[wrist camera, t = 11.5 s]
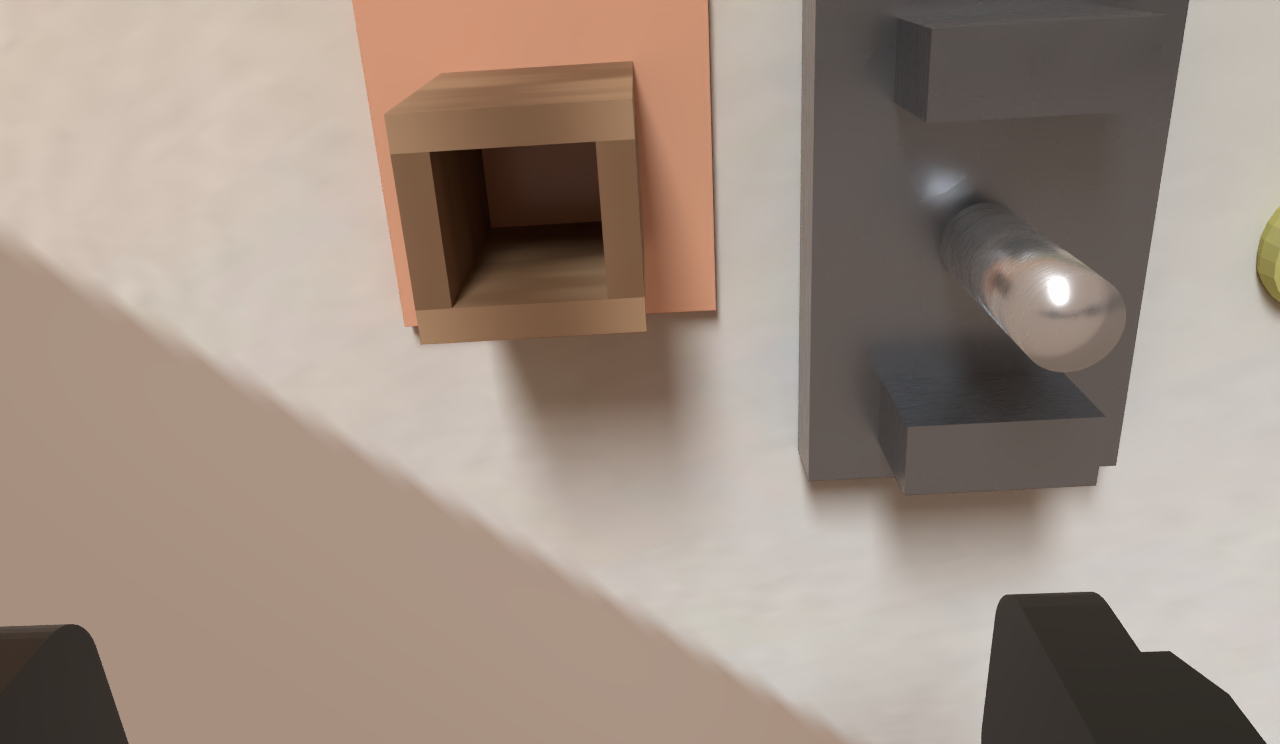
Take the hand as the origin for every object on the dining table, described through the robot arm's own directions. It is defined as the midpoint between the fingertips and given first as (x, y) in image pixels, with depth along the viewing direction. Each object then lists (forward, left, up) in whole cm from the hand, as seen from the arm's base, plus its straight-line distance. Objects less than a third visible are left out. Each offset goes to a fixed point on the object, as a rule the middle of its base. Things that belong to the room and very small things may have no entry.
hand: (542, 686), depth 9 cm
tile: (+2, -1, -21) cm, 20 cm away
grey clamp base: (-10, +2, -21) cm, 23 cm away
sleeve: (+2, -1, -20) cm, 20 cm away
